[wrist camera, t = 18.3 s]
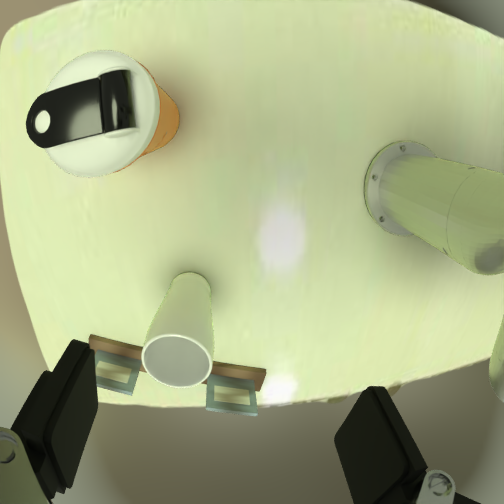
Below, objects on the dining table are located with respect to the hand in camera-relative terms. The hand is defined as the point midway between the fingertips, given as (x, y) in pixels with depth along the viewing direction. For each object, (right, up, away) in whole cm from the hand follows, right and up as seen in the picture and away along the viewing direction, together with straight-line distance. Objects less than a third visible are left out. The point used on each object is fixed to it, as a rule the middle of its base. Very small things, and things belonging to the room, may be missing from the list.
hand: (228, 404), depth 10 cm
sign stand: (-11, -12, +36) cm, 39 cm away
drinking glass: (-7, 0, +32) cm, 33 cm away
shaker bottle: (-11, +20, +24) cm, 33 cm away
